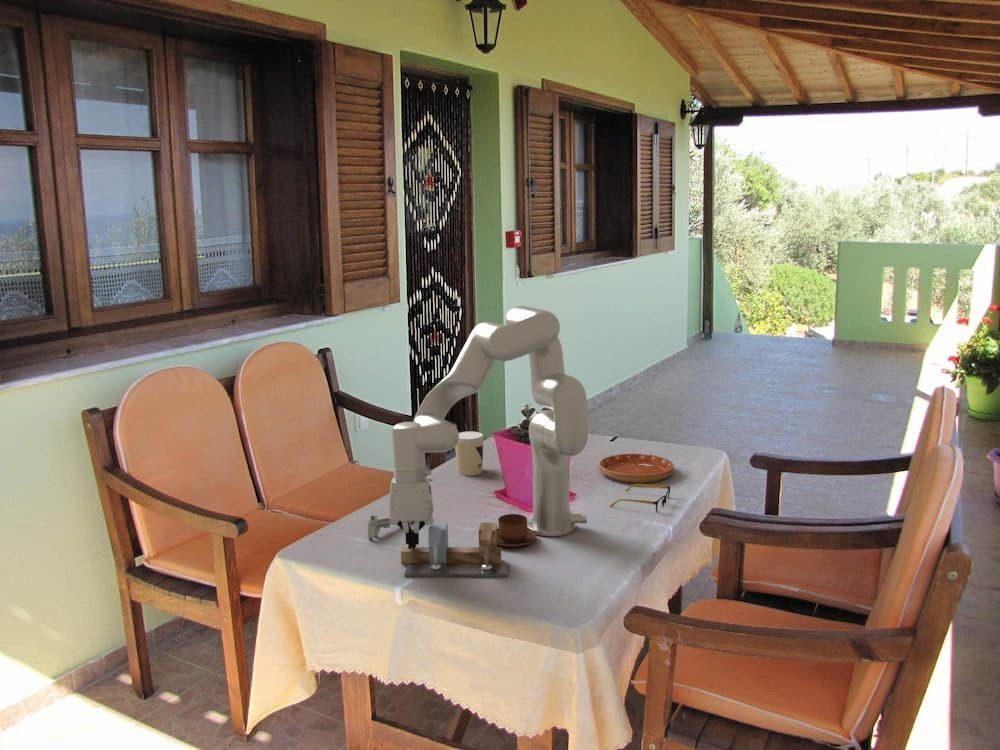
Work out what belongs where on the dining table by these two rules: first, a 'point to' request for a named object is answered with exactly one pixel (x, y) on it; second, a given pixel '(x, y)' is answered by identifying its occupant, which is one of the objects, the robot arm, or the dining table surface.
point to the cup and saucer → (514, 531)
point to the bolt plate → (456, 570)
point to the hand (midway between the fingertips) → (412, 546)
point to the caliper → (377, 525)
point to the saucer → (636, 467)
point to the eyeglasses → (644, 500)
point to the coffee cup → (469, 453)
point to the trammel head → (438, 542)
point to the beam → (462, 550)
